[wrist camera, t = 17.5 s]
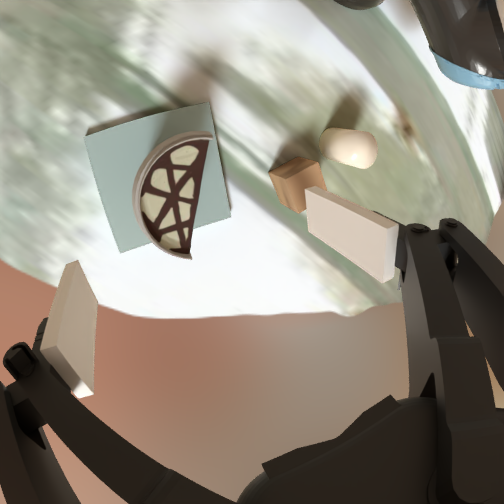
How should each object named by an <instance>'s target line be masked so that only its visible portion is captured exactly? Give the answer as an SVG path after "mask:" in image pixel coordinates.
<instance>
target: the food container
mask: <svg viewBox="0 0 504 504" xmlns="http://www.w3.org/2000/svg"><path fill="white" fill-rule="evenodd" d="M212 137H213V135H212V134H211V133H210V132H208V131H190V132H185V133H181V134H178V135H175V136H173V137H171V138H168V139H167V140H165V141H164V142H162V143H160V144H159V145H158V146H157V147H155V148H154V149H153V150H152V151H151V152H150V153H149V154H148V156H147V157H146V158H145V159H144V161H143V162H142V164H141V166H140V167H139V169H138V171H137V174H136V177H135V179H134V184H133V189H132V205H133V211H134V215H135V218H136V221H137V223H138V225H139V227H140V228H141V230H142V231H143V233H144V234H145V235H146V237H147V238H148V239H149V240H150V241H151V242H152V243H153V244H154V245H155V246H156V247H158V248H159V249H161V250H162V251H164V252H166V253H168V254H170V255H172V256H176V257H179V258H183V259H191V260H192V257H191V254H190V248H191V238H192V232H193V226H194V221H195V216H196V211H197V206H198V201H199V195H200V188H201V182H202V176H203V170H204V165H205V160H206V155H207V150H208V145H209V140H212V139H214V138H212Z"/></svg>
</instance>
